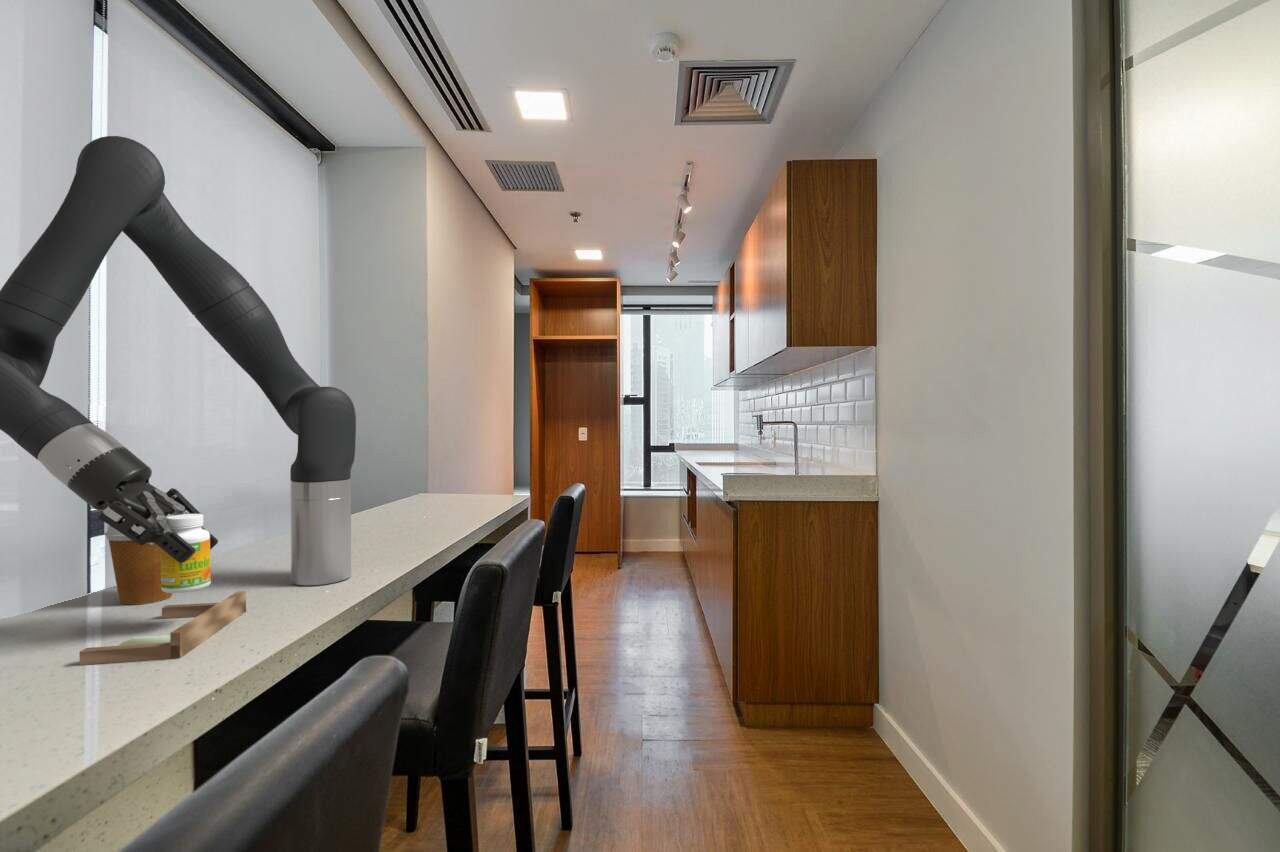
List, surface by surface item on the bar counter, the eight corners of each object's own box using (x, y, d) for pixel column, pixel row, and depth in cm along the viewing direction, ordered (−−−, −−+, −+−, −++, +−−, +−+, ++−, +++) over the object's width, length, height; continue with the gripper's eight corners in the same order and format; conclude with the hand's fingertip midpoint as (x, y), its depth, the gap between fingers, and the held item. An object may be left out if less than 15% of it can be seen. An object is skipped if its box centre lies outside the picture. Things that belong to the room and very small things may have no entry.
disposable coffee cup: (140, 610, 88) (139, 528, 88) (88, 606, 90) (87, 525, 90) (200, 592, 98) (199, 517, 98) (151, 588, 100) (150, 515, 99)
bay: (166, 615, 86) (166, 594, 86) (246, 611, 88) (245, 590, 88) (79, 664, 69) (79, 638, 69) (180, 657, 71) (179, 632, 71)
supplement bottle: (178, 595, 78) (176, 520, 78) (151, 591, 80) (149, 518, 80) (220, 584, 83) (218, 513, 83) (193, 580, 85) (192, 511, 85)
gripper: (80, 448, 73) (195, 543, 76) (151, 442, 87) (246, 522, 90) (29, 494, 72) (147, 588, 75) (110, 480, 86) (206, 560, 89)
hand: (200, 551), depth 82 cm, fingers closed on supplement bottle, 5 cm apart
